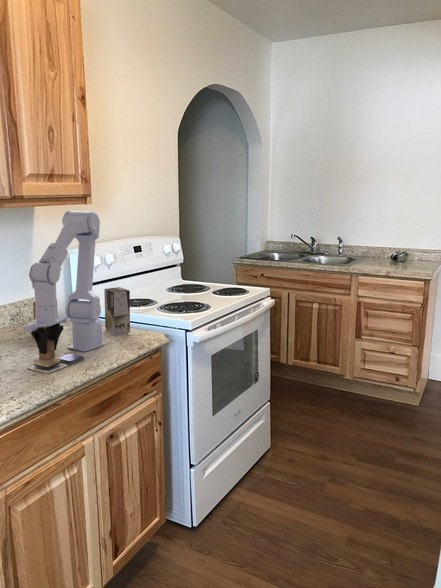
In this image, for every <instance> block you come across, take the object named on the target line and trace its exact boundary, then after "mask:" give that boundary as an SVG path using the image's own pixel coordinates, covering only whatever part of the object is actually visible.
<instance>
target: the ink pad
mask: <svg viewBox="0 0 441 588" xmlns="http://www.w3.org/2000/svg"><path fill="white" fill-rule="evenodd" d="M59 357H60V363H63V364H67V365H69V366H73V365H75V364H78V363H80V362H83V361H85V360H86V359H85V356H83V355H79V354H72V353H67V354H64V355H61V356H59Z"/></svg>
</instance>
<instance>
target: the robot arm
mask: <svg viewBox="0 0 441 588" xmlns="http://www.w3.org/2000/svg"><path fill="white" fill-rule="evenodd" d="M61 221H62V222H61V223H62V228H61V230H60V232H59V234H58V236H57V238H56V240H55V242H51V243H50V244H49V245H48V246H47V248H46V250H45V251H44V253H43V254H42V256H41V257H40V259H39V261H38V262H35V263H33V264H32V265H31V267H30V269H29V273H28V276H29V280H30V281H31V287H32V289H33V290H34V298H35V312H36V319H34V318H33V320H32V321H31V322H29V323H27V324H24V325H23V332H24V333H28V334H31V336H32V338H33V339H34V341H35V342H36V346H37V348H38V353H39V352H40V353H41V354H47V341H48V340H52V341H54V350H55V352H56V351H57V347H58V342H59V339H60V336H61V334H62V332H63V330H64V325H60V324H66V323H69V322H72V323H71V325H72V326H71V327H72V328H71V329H72V330H71V331H72V344H71V345H68V346H67V347H66V348H67V349H70V350H74V351H79V352H88V351H92V350H94V349H97V348H100V347H103V346H105V343H104V342H103V326H102V323H101V321H100V319H99V318H100V317H101V313H102V307H101V301H100V300H101V298H100V297H99V295H97V294H96V293H94V291H93V283H94V269H95V268H94V265H95V255H96V254H95V253H96V252H95V251H96V240H97V239H99V238H100V237H99V236H100V229H101V228H100V224H101V223H100V222H101V221H100V217H99V216H98V214H97V212H96V211H75V210H74V211H72V210H66V211H65V212H64V215H62V219H61ZM74 239H75V240H77V242H78V252H77V253H78V254H77V268H76V269H77V270H76V281H75V282H76V283H75V291H74V292H72V293H71V294H69V295H68V298H67V303H66V306H65V314H66V315H65V314H64V315H63V314H62V315H58V316H57V310H58V299H57V300H56V298H57V283H58V282H59V280H60V277H61V271H62V265H63V264H64V262H65V259H66V258H67V256H68V255H69V253H68V250H67V249H68V247H69V245H71V243H72V242H73V240H74ZM86 300H87V301H86ZM44 328H45V329H44ZM45 330H46V331H45Z"/></svg>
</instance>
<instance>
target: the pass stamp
mask: <svg viewBox="0 0 441 588" xmlns="http://www.w3.org/2000/svg"><path fill="white" fill-rule="evenodd" d="M55 352H56V351H55V350H54V341H52V340H48V341H47V354H41V353H40V352H39V351H38V357H37V358H35V359H33V364H34V365H33V366H36V367H41V368H46V369H48V368H51V367H54V366H56V365H59V364H60V357H61V356H56V353H55Z"/></svg>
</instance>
